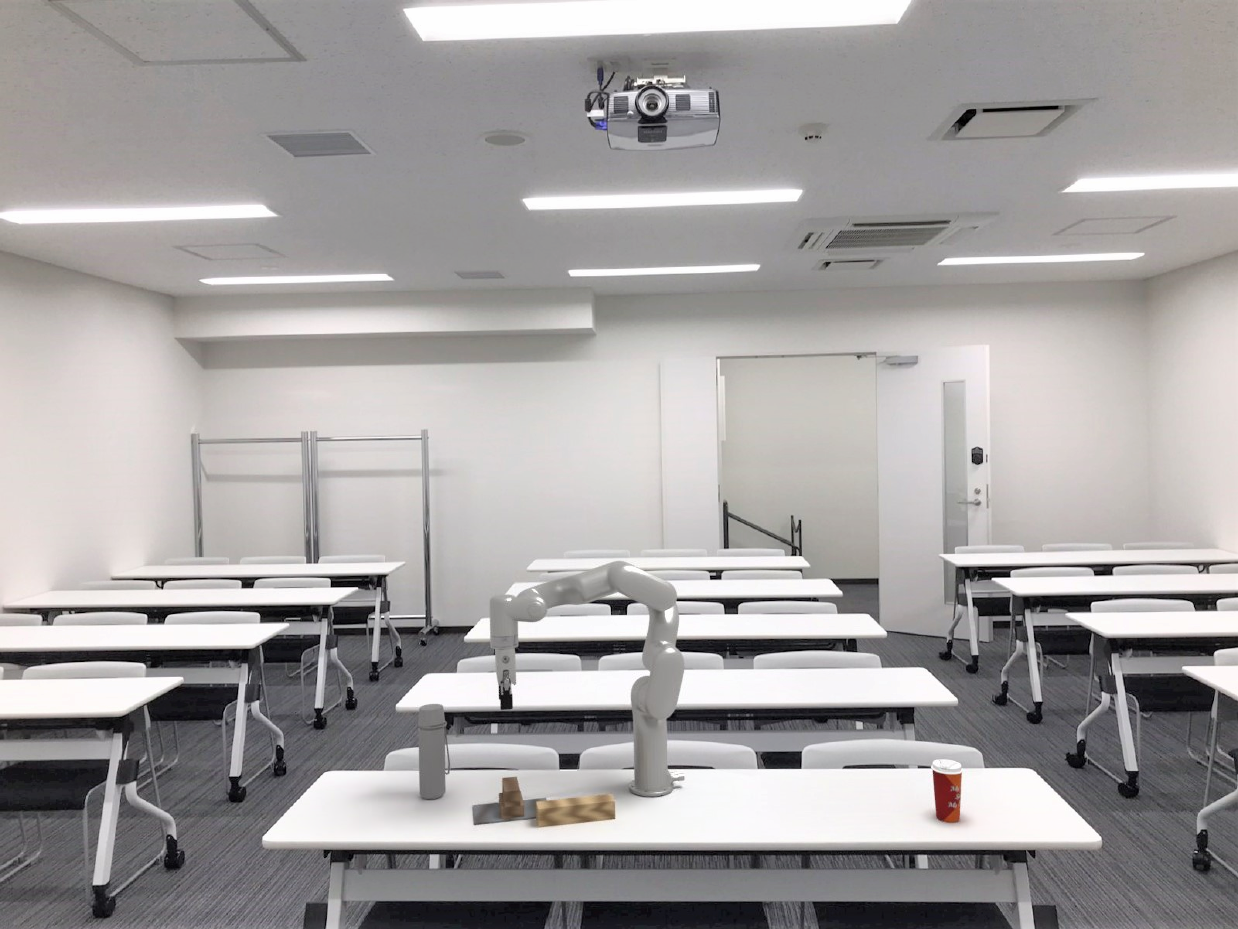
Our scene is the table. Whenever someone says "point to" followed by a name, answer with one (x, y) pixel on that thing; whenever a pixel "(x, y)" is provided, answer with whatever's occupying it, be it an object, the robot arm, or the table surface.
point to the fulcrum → (506, 805)
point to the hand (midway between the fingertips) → (505, 704)
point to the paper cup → (947, 789)
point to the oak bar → (575, 810)
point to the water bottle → (432, 751)
